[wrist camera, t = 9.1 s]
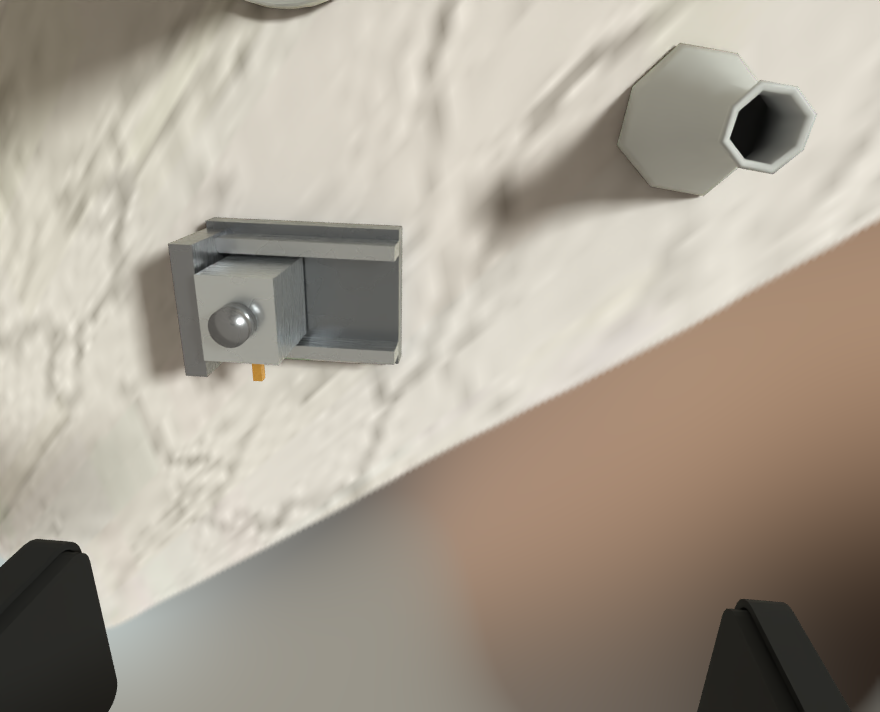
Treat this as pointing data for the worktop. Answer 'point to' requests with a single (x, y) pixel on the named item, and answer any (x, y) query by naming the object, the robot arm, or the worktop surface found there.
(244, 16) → the worktop surface
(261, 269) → the knobbed grey cube
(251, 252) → the base
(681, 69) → the flask
